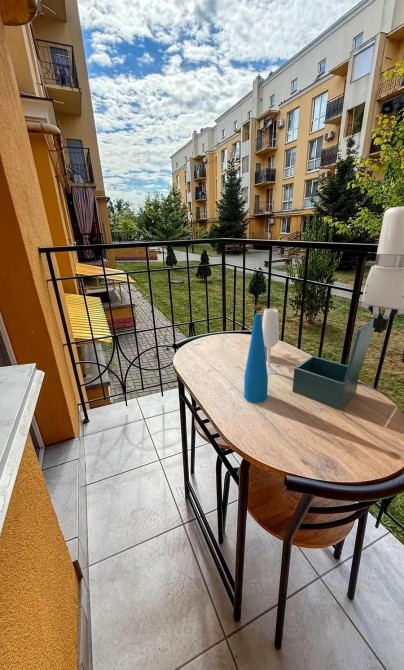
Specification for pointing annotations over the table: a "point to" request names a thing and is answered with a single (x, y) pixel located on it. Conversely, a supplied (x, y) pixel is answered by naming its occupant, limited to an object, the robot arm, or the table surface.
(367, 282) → the robot arm
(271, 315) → the champagne flute
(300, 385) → the tin box
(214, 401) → the table surface
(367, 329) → the lid
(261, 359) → the bottle
